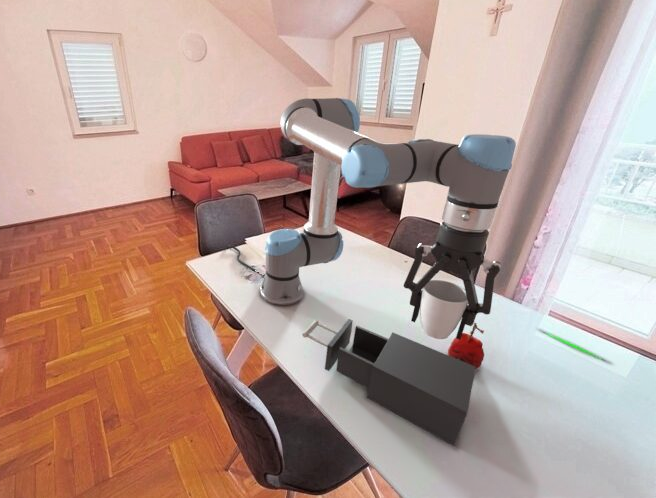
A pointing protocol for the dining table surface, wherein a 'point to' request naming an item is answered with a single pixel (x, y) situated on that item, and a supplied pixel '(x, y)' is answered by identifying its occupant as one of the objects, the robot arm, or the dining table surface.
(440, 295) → the cup
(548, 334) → the leaf
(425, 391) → the grey storage cabinet
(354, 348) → the drawer
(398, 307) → the dining table surface
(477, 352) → the red fruit with stem
